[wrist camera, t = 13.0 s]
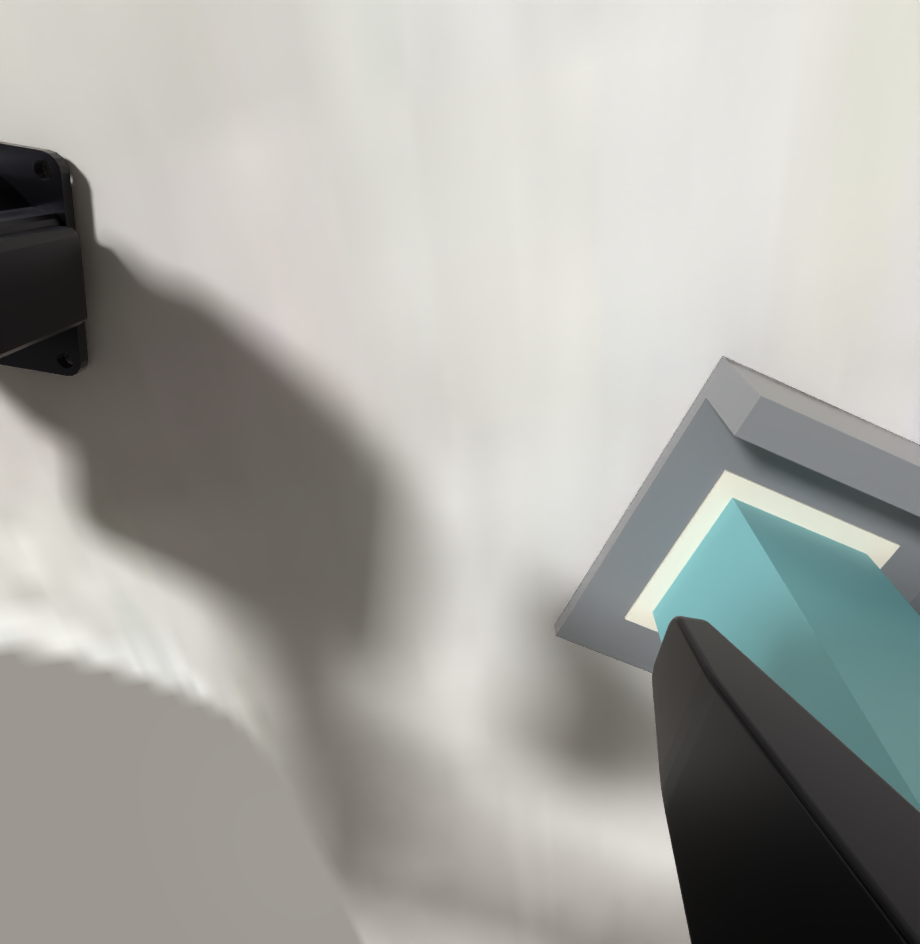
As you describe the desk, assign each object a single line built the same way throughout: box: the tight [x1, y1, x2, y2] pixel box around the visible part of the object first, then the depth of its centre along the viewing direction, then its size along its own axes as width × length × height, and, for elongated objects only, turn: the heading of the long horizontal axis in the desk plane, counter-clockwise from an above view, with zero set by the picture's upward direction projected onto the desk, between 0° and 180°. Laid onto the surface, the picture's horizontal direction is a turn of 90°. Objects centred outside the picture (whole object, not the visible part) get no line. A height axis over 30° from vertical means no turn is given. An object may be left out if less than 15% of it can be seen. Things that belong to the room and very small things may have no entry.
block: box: [653, 498, 920, 811], centre depth 17 cm, size 5×5×12 cm
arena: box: [555, 356, 920, 673], centre depth 22 cm, size 11×11×4 cm
